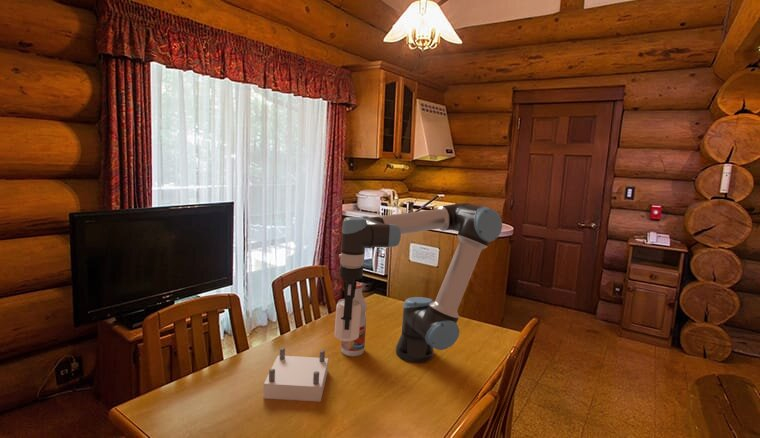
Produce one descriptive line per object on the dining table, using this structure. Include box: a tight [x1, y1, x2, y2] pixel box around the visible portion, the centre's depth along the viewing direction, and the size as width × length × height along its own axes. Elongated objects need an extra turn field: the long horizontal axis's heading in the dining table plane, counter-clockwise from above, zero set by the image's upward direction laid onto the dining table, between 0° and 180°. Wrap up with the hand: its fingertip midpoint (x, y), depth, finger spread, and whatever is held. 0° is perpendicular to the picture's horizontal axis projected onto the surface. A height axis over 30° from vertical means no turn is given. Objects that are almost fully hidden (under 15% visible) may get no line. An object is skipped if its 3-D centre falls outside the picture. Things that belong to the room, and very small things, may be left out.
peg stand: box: [263, 347, 329, 402], centre depth 134 cm, size 18×18×8 cm
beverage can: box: [334, 298, 361, 342], centre depth 131 cm, size 8×8×12 cm
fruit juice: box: [340, 281, 368, 357], centre depth 157 cm, size 9×9×28 cm
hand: (346, 332), depth 131 cm, fingers closed on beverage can, 8 cm apart
